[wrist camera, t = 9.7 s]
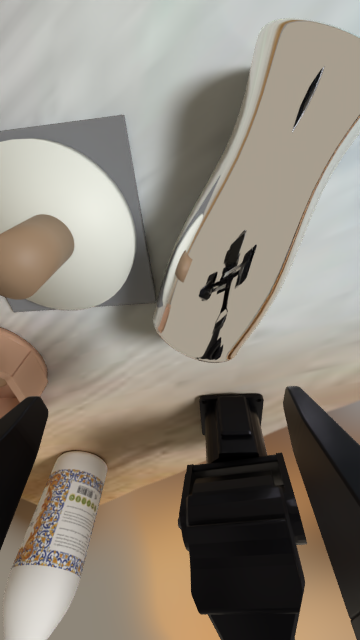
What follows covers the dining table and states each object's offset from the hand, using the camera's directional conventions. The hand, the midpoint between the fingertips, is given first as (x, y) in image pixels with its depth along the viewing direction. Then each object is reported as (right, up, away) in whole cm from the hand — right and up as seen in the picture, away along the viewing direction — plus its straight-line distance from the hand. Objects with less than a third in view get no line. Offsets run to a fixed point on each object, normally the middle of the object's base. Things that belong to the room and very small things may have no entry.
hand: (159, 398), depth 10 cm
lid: (-8, +9, +9) cm, 15 cm away
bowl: (-17, -1, +17) cm, 24 cm away
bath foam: (-13, -17, +28) cm, 35 cm away
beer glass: (+7, +14, +1) cm, 16 cm away
